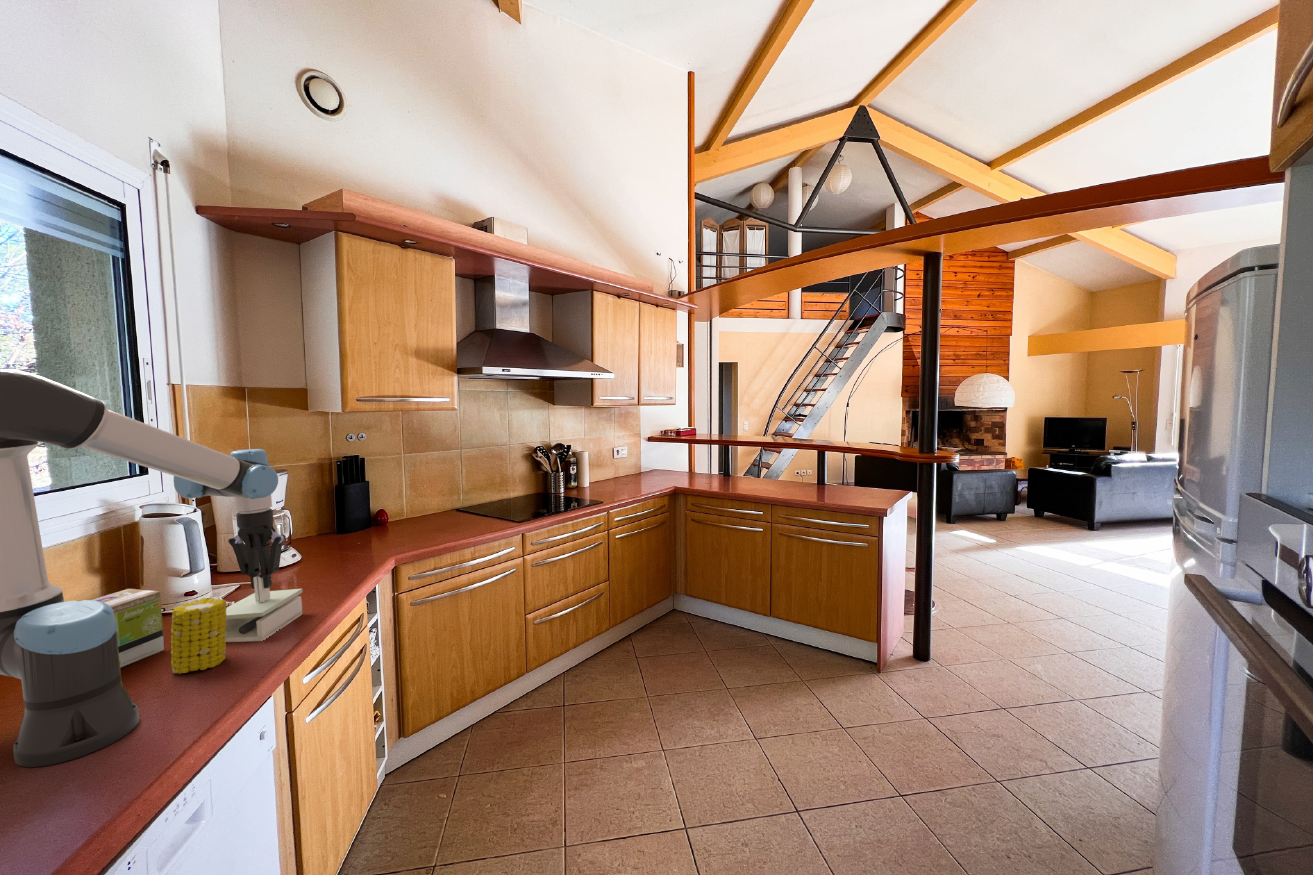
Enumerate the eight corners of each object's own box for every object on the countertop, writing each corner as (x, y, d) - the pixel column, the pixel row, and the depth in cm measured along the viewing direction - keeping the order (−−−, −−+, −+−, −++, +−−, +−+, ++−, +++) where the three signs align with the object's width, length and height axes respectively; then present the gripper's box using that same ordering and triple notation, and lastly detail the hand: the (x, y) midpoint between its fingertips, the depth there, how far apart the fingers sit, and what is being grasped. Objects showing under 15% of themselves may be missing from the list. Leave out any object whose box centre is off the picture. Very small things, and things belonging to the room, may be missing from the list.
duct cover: (263, 616, 133) (262, 612, 133) (210, 620, 132) (209, 616, 132) (302, 592, 149) (302, 588, 149) (255, 595, 148) (255, 592, 148)
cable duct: (262, 640, 133) (261, 621, 133) (212, 642, 133) (210, 622, 133) (302, 614, 149) (301, 596, 149) (257, 615, 149) (255, 597, 148)
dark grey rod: (247, 633, 135) (246, 626, 135) (239, 634, 135) (238, 626, 135) (281, 612, 148) (280, 605, 148) (273, 612, 148) (272, 605, 148)
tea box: (90, 683, 115) (82, 615, 114) (53, 678, 117) (46, 612, 116) (166, 649, 130) (160, 589, 128) (133, 646, 132) (127, 586, 130)
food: (162, 681, 118) (211, 661, 128) (201, 676, 115) (248, 655, 125) (148, 612, 119) (198, 597, 128) (186, 605, 115) (234, 590, 125)
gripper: (290, 506, 142) (298, 593, 145) (238, 507, 142) (246, 595, 144) (271, 512, 135) (280, 604, 137) (215, 514, 135) (225, 606, 137)
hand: (263, 599), depth 141 cm, fingers closed
